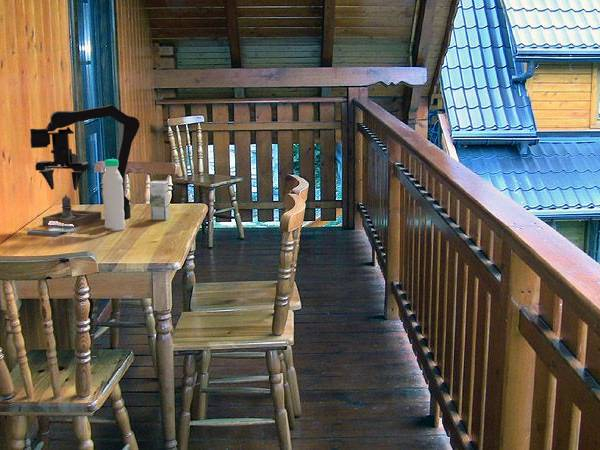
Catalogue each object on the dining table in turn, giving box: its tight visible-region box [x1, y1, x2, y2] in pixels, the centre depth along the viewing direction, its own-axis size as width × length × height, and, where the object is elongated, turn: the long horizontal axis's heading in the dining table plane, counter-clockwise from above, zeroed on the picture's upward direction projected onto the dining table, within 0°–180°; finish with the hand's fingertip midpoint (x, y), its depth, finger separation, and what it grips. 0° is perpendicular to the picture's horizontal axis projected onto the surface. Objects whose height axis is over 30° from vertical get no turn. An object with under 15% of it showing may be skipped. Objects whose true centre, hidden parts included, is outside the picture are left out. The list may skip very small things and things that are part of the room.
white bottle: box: [101, 158, 126, 232], centre depth 293 cm, size 7×7×25 cm
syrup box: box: [149, 180, 170, 221], centre depth 312 cm, size 6×6×14 cm
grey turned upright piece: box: [59, 194, 76, 219], centre depth 299 cm, size 6×6×12 cm
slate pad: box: [26, 229, 68, 237], centre depth 290 cm, size 12×8×1 cm
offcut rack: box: [41, 209, 102, 228], centre depth 303 cm, size 14×16×4 cm
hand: (64, 189), depth 301 cm, fingers open, 9 cm apart
